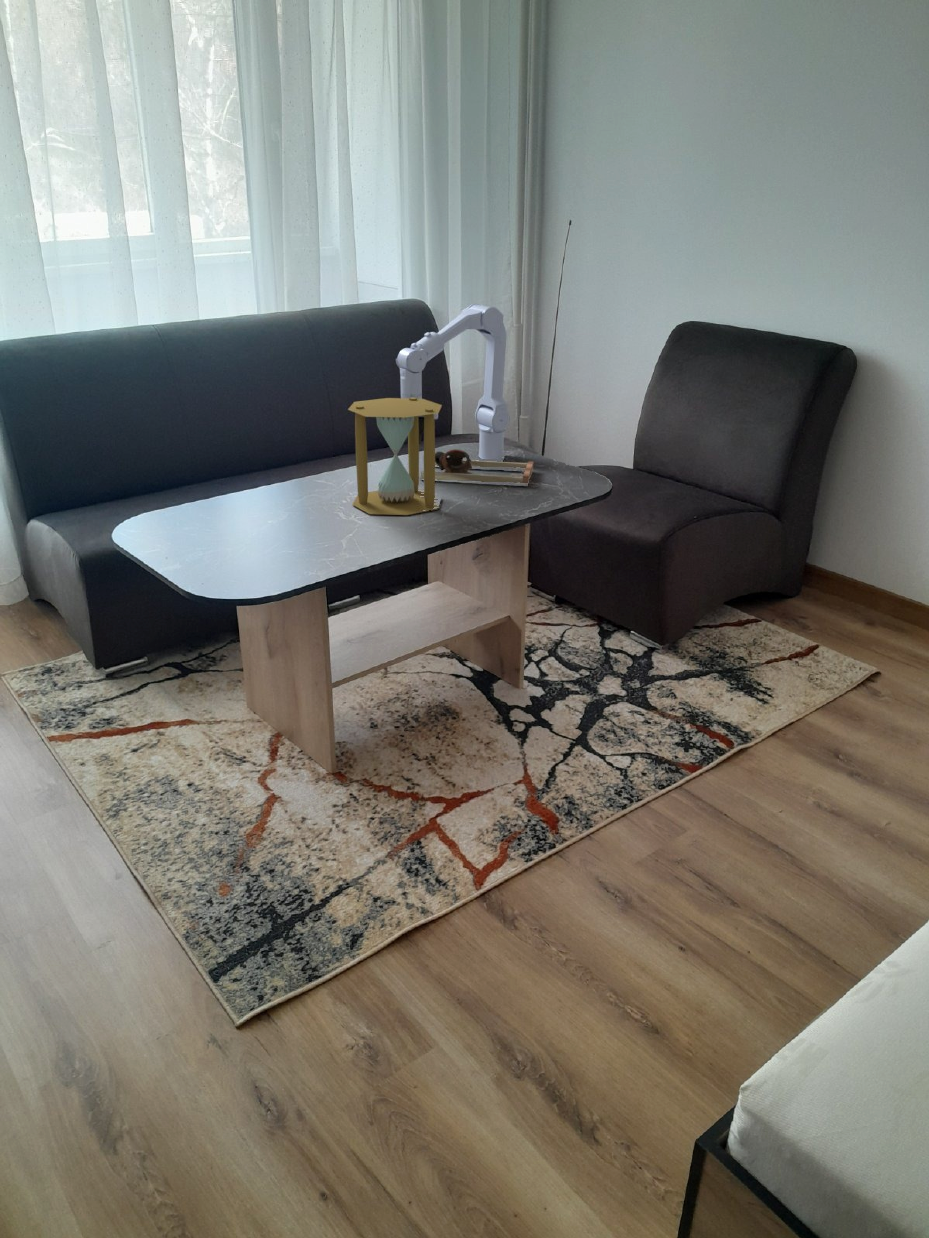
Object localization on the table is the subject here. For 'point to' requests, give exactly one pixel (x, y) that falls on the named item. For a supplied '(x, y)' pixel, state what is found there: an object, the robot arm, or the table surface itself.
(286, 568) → the table surface
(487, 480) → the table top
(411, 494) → the hourglass
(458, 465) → the pottery mug
